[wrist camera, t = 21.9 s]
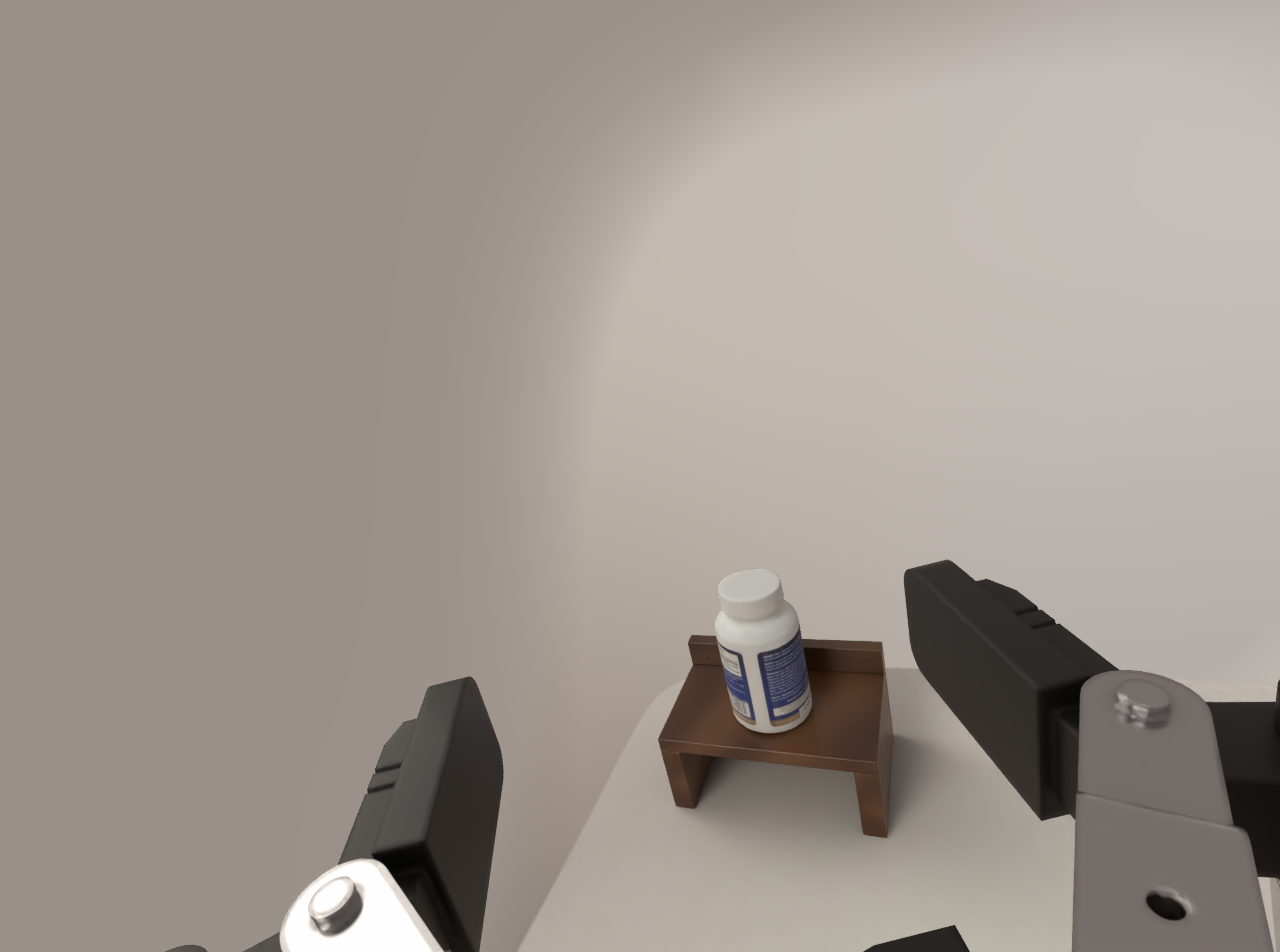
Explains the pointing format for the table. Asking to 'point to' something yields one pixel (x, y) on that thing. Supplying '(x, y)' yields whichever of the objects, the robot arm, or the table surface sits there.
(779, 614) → the pill bottle
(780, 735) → the shelf
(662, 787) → the table surface
